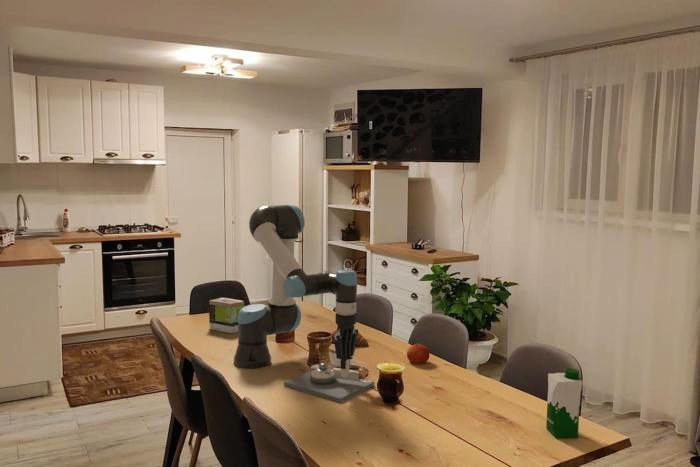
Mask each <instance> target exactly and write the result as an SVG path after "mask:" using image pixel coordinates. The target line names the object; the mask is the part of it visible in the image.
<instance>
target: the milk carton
mask: <svg viewBox="0 0 700 467" xmlns="http://www.w3.org/2000/svg"><path fill="white" fill-rule="evenodd" d="M547 383H548V384H547V385H548V386H547V388H548V389H547V405H546V423H545V424H546V427H545V428H547V429H546V430H547V431H548V432H549V433H550V434H551V436H553V437H554V438H555V439H578V438H579V428H580V427H579V425H580V424H579V422H580V421H579V420H580V409H581V408H580V406H581V392H582V387H583V385H584V381H583V380H582V379H581V378H580V371H579V370H578V369H576V368H565V370H564V372H555V373H554V372H553V373H548V374H547Z"/></svg>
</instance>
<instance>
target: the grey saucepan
mask: <svg viewBox="0 0 700 467" xmlns="http://www.w3.org/2000/svg"><path fill="white" fill-rule="evenodd" d="M309 371H310V381H311V382H313V383H317V384H329V383H333V382H335V381H336V379H345V380H352V381H359V382H361V381H362V379H366V368H364V367H362V368H361V367H360V368H358V369H357V370H354V369H349V377H348V378H345V377H341V368H337V367H335V366H334V365H333V364H332V365H331V364H329V363H327V362H320V363H319V364H313V365H311V366H310V368H309Z"/></svg>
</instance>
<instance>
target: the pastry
mask: <svg viewBox="0 0 700 467" xmlns="http://www.w3.org/2000/svg"><path fill="white" fill-rule="evenodd" d="M330 333H331V335H332V336H333V334H334V335H335V334H336V333H337V329H335V330H334V331H331V332H330ZM331 343H333V344H334V339H333V337H332V342H331ZM365 346H369V341H368V339H366V338H364V336H363V335H362V334H361V333H360V332H359V331H358V334H357V337H356V343H355V347H365Z"/></svg>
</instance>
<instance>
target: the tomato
mask: <svg viewBox="0 0 700 467" xmlns="http://www.w3.org/2000/svg"><path fill="white" fill-rule="evenodd" d="M430 355H431V354H430V348H428V347H427V346H426V345H425V344H421V343H416V344H415V343H414V344H413V345H411V346H409V347H408V349H407V351H406V358H407V360H409V362H411V363H413V364H422V363H426V362H427V361H429V358H430Z"/></svg>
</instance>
